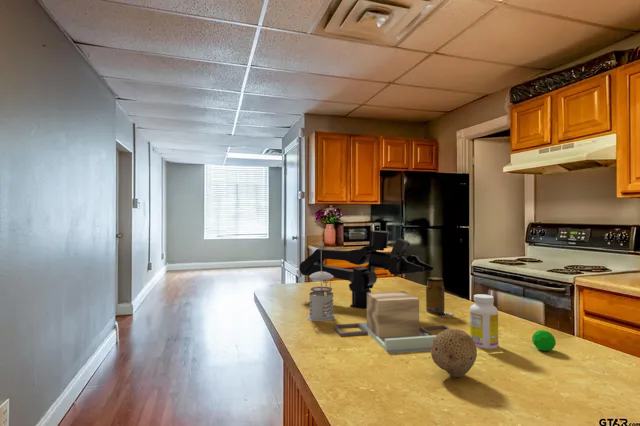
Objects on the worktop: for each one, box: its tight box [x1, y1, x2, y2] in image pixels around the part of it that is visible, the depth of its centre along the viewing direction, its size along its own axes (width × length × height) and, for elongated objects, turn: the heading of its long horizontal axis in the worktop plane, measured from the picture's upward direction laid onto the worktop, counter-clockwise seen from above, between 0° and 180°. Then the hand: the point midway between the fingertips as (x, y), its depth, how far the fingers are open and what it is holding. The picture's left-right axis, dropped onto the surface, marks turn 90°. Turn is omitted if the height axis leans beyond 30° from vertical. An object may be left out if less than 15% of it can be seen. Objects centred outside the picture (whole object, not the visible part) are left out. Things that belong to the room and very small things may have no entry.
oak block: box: [366, 291, 420, 337], centre depth 105 cm, size 10×12×10 cm
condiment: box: [425, 276, 454, 318], centre depth 125 cm, size 7×8×12 cm
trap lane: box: [333, 322, 451, 355], centre depth 101 cm, size 25×32×3 cm
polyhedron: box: [531, 329, 557, 352], centre depth 91 cm, size 5×5×5 cm
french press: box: [306, 241, 336, 323], centre depth 120 cm, size 10×12×25 cm
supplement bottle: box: [469, 293, 499, 350], centre depth 94 cm, size 7×7×13 cm
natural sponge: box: [430, 328, 478, 378], centre depth 76 cm, size 9×9×10 cm
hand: (428, 268), depth 120 cm, fingers open, 9 cm apart
